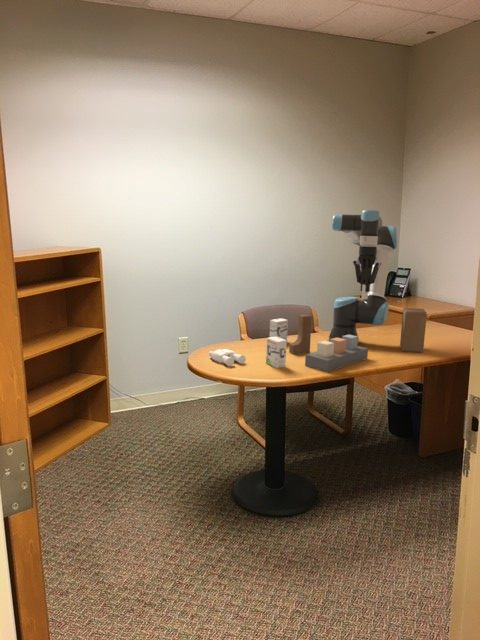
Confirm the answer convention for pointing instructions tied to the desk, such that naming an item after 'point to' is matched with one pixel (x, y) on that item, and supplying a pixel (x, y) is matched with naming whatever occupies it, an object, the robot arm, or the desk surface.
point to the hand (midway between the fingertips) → (364, 298)
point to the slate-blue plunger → (351, 341)
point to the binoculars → (227, 356)
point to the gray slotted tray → (336, 359)
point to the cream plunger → (325, 349)
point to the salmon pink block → (339, 345)
